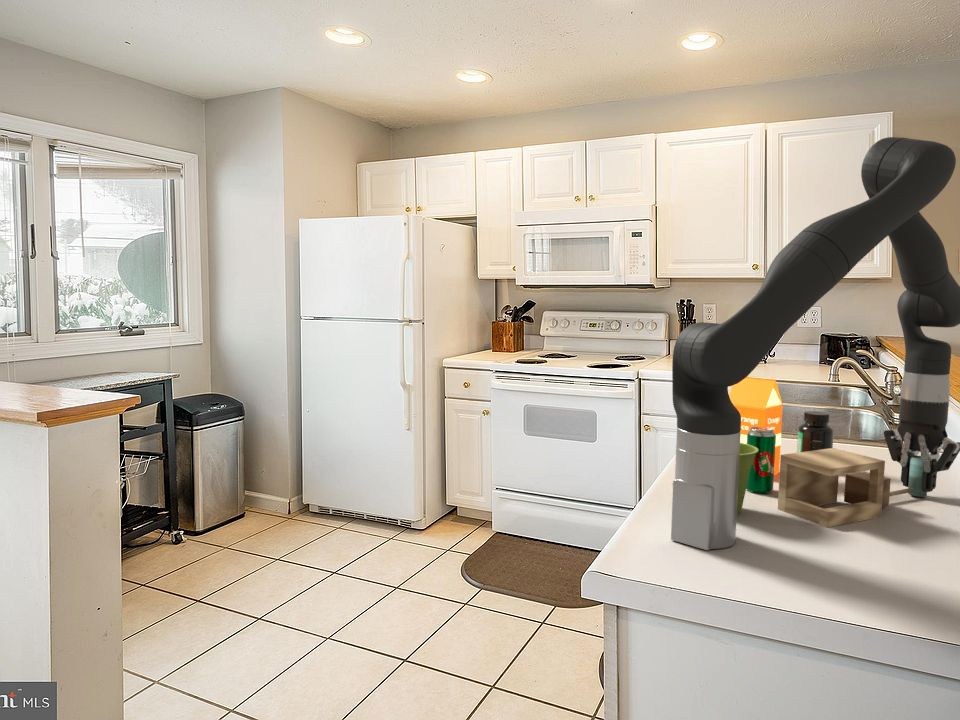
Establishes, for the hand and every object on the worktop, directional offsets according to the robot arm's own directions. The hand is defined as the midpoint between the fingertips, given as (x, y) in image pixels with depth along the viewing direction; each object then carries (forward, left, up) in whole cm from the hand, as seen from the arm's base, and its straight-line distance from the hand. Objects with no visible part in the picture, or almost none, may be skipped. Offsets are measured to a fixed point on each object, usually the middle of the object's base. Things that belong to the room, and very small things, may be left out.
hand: (917, 488), depth 129 cm
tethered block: (-7, +3, -1) cm, 8 cm away
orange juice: (-6, +29, -2) cm, 30 cm away
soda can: (-18, +22, -2) cm, 29 cm away
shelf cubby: (-22, +8, -2) cm, 24 cm away
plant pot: (-34, +22, -2) cm, 41 cm away
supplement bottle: (+7, +21, -2) cm, 22 cm away
